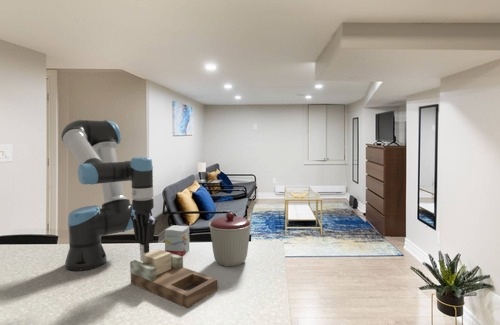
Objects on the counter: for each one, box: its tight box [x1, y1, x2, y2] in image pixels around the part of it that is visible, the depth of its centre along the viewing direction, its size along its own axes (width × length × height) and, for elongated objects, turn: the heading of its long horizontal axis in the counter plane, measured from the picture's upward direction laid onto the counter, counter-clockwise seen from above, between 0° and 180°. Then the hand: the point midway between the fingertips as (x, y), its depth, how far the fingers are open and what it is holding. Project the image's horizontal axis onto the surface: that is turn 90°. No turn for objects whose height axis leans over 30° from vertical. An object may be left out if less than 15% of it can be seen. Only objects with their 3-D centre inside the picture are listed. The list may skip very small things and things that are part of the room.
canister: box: [208, 212, 253, 267], centre depth 131 cm, size 18×18×21 cm
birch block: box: [142, 248, 171, 275], centre depth 114 cm, size 7×7×6 cm
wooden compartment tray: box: [129, 253, 219, 310], centre depth 109 cm, size 29×14×8 cm, turn 55°
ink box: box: [164, 224, 190, 258], centre depth 141 cm, size 9×9×12 cm
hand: (144, 260), depth 118 cm, fingers closed
